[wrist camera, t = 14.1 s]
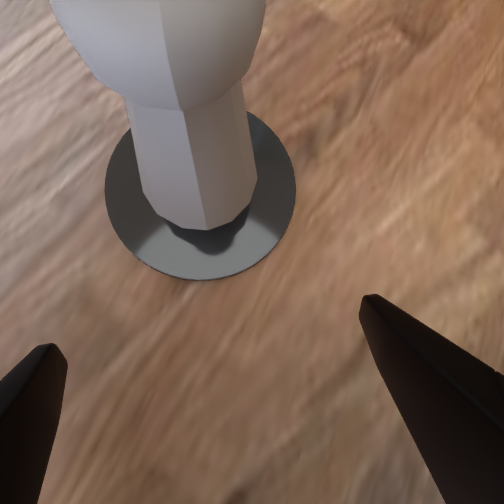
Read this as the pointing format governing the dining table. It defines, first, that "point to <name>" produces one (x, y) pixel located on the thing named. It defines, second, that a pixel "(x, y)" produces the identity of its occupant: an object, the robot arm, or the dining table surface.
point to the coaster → (203, 241)
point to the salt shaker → (178, 95)
